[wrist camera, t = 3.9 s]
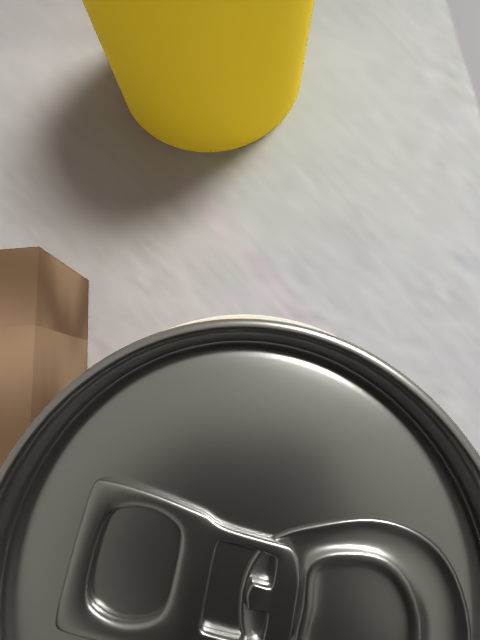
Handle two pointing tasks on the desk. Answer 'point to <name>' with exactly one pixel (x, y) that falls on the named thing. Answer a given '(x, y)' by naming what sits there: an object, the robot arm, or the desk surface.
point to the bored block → (37, 336)
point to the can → (241, 497)
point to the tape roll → (205, 65)
